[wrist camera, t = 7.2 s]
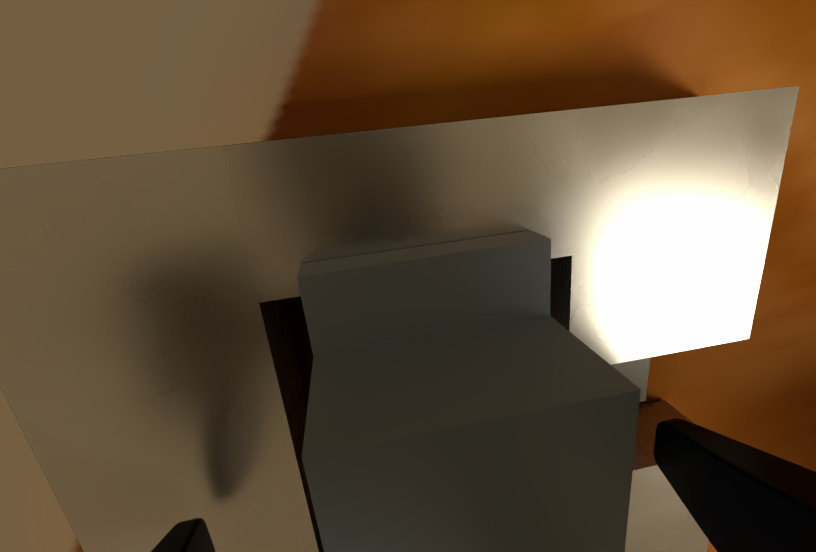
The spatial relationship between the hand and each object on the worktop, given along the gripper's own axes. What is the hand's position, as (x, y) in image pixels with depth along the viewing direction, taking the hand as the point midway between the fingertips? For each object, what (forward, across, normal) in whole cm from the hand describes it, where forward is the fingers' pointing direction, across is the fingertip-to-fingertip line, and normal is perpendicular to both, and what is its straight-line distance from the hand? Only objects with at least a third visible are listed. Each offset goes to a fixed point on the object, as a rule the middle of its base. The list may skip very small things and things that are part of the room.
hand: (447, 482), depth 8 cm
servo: (+3, -2, 0) cm, 3 cm away
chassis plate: (+3, 0, 0) cm, 3 cm away
